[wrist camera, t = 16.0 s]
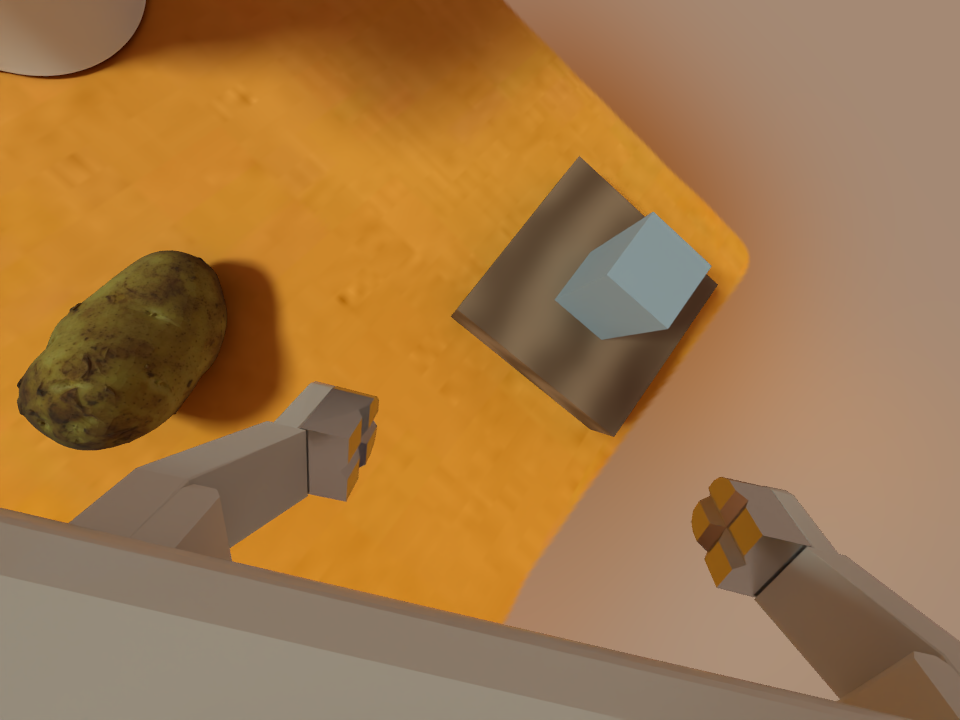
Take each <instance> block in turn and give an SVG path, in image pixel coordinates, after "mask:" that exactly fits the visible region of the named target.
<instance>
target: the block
mask: <svg viewBox="0 0 960 720" xmlns="http://www.w3.org/2000/svg"><path fill="white" fill-rule="evenodd" d="M710 268H711V265H710V264H709V263H708V262H707V261H706V260H705V259H703V258H702V257H701V256H700V255H699V254H698V253H697V252H696V251H695V250H694V249H693V248H692V247H691V246H690V245H688V244H687V243H686V242H685V241H684V240H683V239H682V238H681V237H680V236H679V235H678V234H677V233H676V232H675V231H674V230H672V229H671V228H670V227H669V226H668V225H667V224H666V223H665V222H664V221H663V220H662V219H661V218H660V217H659V216H657V215H656V214H655V213H654V212H652V213H651V214H649V215H647V216H646V217H644V218H643V219H641V220H640V221H638V222H637V223H635V224H633V225H632V226H630V227H629V228H627V229H626V230H624V231H623V232H621V233H619V234H618V235H616V236H615V237H613V238H612V239H610V240H609V241H607V242H605V243H604V244H602V245H601V246H599V247H598V248H596V249H595V250H593V251H591V252H590V253H589V255H588V256H587V257H586V259H585V260H584V261H583V263H582V264H581V265H580V267H579V268H578V269H577V271H576V272H575V273H574V275H573V276H572V277H571V279H570V280H569V281H568V283H567V284H566V285H565V287H564V288H563V289H562V291H561V292H560V293H559V294H558V296H557V297H556V298H555V301H556V302H558V303H559V304H560V305H561V306H562V307H564V308H565V309H566V310H567V311H568V312H569V313H571V314H572V315H573V316H574V317H575V318H576V319H578V320H579V321H580V322H581V323H582V324H583V325H585V326H586V327H587V328H588V329H589V330H590V331H592V332H593V333H594V334H595V335H596V336H598V337H599V338H600V339H601V340H603V339H610V338H616V337H622V336H628V335H634V334H640V333H646V332H653V331H659V330H665V329H668V328H669V327H670V325H671V324H672V323H673V321H674V320H675V318H676V317H677V315H678V314H679V312H680V311H681V310H682V308H683V307H684V305H685V304H686V302H687V301H688V299H689V298H690V297H691V295H692V294H693V292H694V291H695V289H696V288H697V286H698V285H699V284H700V282H701V281H702V279H703V278H704V276H705V275H706V273H707V272H708V271H709V269H710Z"/></svg>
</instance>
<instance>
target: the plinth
mask: <svg viewBox="0 0 960 720" xmlns="http://www.w3.org/2000/svg"><path fill="white" fill-rule="evenodd" d="M643 218H644V216H643V215H642V214H641V213H640V212H639V211H638V210H637V209H636V208H635V207H634V206H633V205H631V204H630V203H629V202H628V201H627V200H626V199H625V198H624V197H623V196H622V195H621V194H620V193H619V192H617V191H616V190H615V189H614V188H613V187H612V186H611V185H610V184H609V183H608V182H607V181H606V180H605V179H603V178H602V177H601V176H600V175H599V174H598V173H597V172H596V171H595V170H594V169H593V168H592V167H591V166H589V165H588V164H587V163H586V162H585V161H584V160H583V159H582V158H581V157H580V156H579V157H578V158H577V160H576V161H575V162H574V163H573V165H572V166H571V167H570V168H569V170H568V171H567V172H566V173H565V174H564V176H563V177H562V178H561V179H560V181H559V182H558V183H557V184H556V186H555V187H554V188H553V189H552V191H551V192H550V193H549V194H548V196H547V197H546V198H545V199H544V201H543V202H542V203H541V204H540V206H539V207H538V208H537V209H536V211H535V212H534V213H533V214H532V216H531V217H530V218H529V219H528V221H527V222H526V223H525V224H524V226H523V227H522V228H521V229H520V231H519V232H518V233H517V234H516V236H515V237H514V238H513V239H512V241H511V242H510V243H509V244H508V246H507V247H506V248H505V249H504V251H503V252H502V253H501V254H500V256H499V257H498V258H497V259H496V261H495V262H494V263H493V265H492V266H491V267H490V268H489V270H488V271H487V272H486V273H485V275H484V276H483V277H482V278H481V280H480V281H479V282H478V283H477V285H476V286H475V287H474V288H473V290H472V291H471V292H470V293H469V295H468V296H467V297H466V298H465V300H464V301H463V302H462V303H461V305H460V306H459V307H458V308H457V310H456V311H455V312H454V313H453V315H452V316H451V317H452V318H453V319H454V320H456V321H457V322H458V323H459V324H461V325H462V326H463V327H464V328H466V329H467V330H468V331H469V332H471V333H472V334H473V335H474V336H476V337H477V338H478V339H479V340H480V341H482V342H483V343H484V344H485V345H487V346H488V347H489V348H490V349H492V350H493V351H494V352H495V353H497V354H498V355H499V356H500V357H502V358H503V359H504V360H505V361H506V362H508V363H509V364H510V365H511V366H513V367H514V368H515V369H516V370H518V371H519V372H520V373H521V374H523V375H524V376H525V377H526V378H527V379H529V380H530V381H531V382H532V383H534V384H535V385H536V386H537V387H539V388H540V389H541V390H542V391H544V392H545V393H546V394H547V395H549V396H550V397H551V398H552V399H553V400H555V401H556V402H557V403H558V404H560V405H561V406H562V407H563V408H565V409H566V410H567V411H568V412H570V413H571V414H572V415H573V416H574V417H576V418H577V419H578V420H579V421H581V422H582V423H583V424H584V425H586V426H587V427H588V428H589V429H591V430H594V431H597V432H600V433H604V434H607V435H610V436H613V437H614V436H615V435H616V433H617V432H618V430H619V429H620V427H621V426H622V424H623V423H624V422H625V420H626V419H627V417H628V416H629V414H630V413H631V411H632V410H633V408H634V407H635V405H636V404H637V402H638V401H639V400H640V398H641V397H642V395H643V394H644V392H645V391H646V389H647V388H648V386H649V385H650V383H651V382H652V381H653V379H654V378H655V376H656V375H657V373H658V372H659V370H660V369H661V367H662V366H663V364H664V363H665V361H666V360H667V359H668V357H669V356H670V354H671V353H672V351H673V350H674V348H675V347H676V345H677V344H678V342H679V341H680V340H681V338H682V337H683V335H684V334H685V332H686V331H687V329H688V328H689V326H690V325H691V323H692V322H693V320H694V319H695V318H696V316H697V315H698V313H699V312H700V310H701V309H702V307H703V306H704V304H705V303H706V301H707V300H708V298H709V297H710V296H711V294H712V293H713V291H714V290H715V288H716V287H717V285H718V284H716V283H715V282H714V281H713V280H712V279H711V278H710V277H709V276H708V275H707V274H706V275H705V276H704V278H703V279H702V281H701V282H700V284H699V285H698V286H697V288H696V289H695V291H694V292H693V294H692V295H691V297H690V298H689V299H688V301H687V302H686V304H685V305H684V307H683V308H682V310H681V311H680V312H679V314H678V315H677V317H676V318H675V320H674V321H673V323H672V324H671V325H670V327H669V328H668V329H665V330H659V331H653V332H646V333H640V334H634V335H628V336H622V337H616V338H610V339H603V340H601V339H600V338H599V337H598V336H596V335H595V334H594V333H593V332H592V331H590V330H589V329H588V328H587V327H586V326H585V325H583V324H582V323H581V322H580V321H579V320H578V319H576V318H575V317H574V316H573V315H572V314H571V313H569V312H568V311H567V310H566V309H565V308H564V307H562V306H561V305H560V304H559V303H558V302H556V301H555V298H556V297H557V296H558V294H559V293H560V292H561V291H562V289H563V288H564V287H565V285H566V284H567V283H568V281H569V280H570V279H571V277H572V276H573V275H574V273H575V272H576V271H577V269H578V268H579V267H580V265H581V264H582V263H583V261H584V260H585V259H586V257H587V256H588V255H589V253H590V252H591V251H593V250H595V249H596V248H598V247H599V246H601V245H602V244H604V243H605V242H607V241H609V240H610V239H612V238H613V237H615V236H616V235H618V234H619V233H621V232H623V231H624V230H626V229H627V228H629V227H630V226H632V225H633V224H635V223H637V222H638V221H640V220H641V219H643Z"/></svg>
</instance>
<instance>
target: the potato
mask: <svg viewBox="0 0 960 720" xmlns="http://www.w3.org/2000/svg"><path fill="white" fill-rule="evenodd" d="M226 324H227V310H226V304H225V300H224V296H223V293H222V289H221V285H220V282H219V279H218V277H217V275H216V273H215V272H214V270H213V269H212V268H211V267H210V266H209V265H207V264H206V263H205V262H204V261H203V260H202V259H201V258H198V257H195V256H192V255H190V254H187V253H183V252H179V251H159V252H155V253H151V254H149V255H146V256H144V257H142V258H140V259H139V260H137V261H136V262H134V263H133V264H131V265H130V266H128V267H127V268H126V269H124V270H123V271H122V272H120V273H119V274H117V275H116V276H115V277H114V278H112V279H111V280H110V281H109V282H107V283H106V284H105V285H104V286H102V287H101V288H100V289H99V290H98V291H96V292H95V293H94V294H93V295H91V296H90V297H89V298H87V299H86V300H85V301H84V302H82V303H78V304H77V305H76V306H75V307H73V308H71V309H70V312H69V313H68V315H67V316H65V317H64V318H63V319H62V320H61V321H60V322H59V323H58V324H57V326H56V327H55V329H54V331H53V333H52V335H51V337H50V340H49V342H48V345H47V348H46V349H45V350H44V351H43V352H42V353H41V354H40V355H39V356H38V357H37V358H36V359H35V360H34V362H33V363H32V364H31V365H30V367H29V368H28V370H27V371H26V373H25V374H24V376H23V377H22V378H21V379H20V381H19V382H18V384H17V386H18V388H19V398H18V400H17V403H18V408H19V411H20V414H22V415H23V416H25V417H26V419H27V420H28V421H29V422H30V423H31V424H32V425H33V426H34V427H35V428H36V429H37V430H39V431H40V432H41V433H43V434H44V435H46V436H47V437H49V438H51V439H52V440H54V441H55V442H57V443H59V444H61V445H63V446H66V447H69V448H73V449H77V450H101V449H106V448H111V447H115V446H119V445H122V444H125V443H130V442H131V441H133V440H135V439H137V438H139V437H141V436H143V435H145V434H147V433H149V432H151V431H152V430H154V429H156V428H157V427H159V426H160V425H161V424H162V423H164V422H165V421H166V420H167V419H169V418H170V417H171V416H172V415H173V414H176V412H177V411H178V409H179V408H180V407H181V405H182V403H183V402H184V401H185V400H186V399H187V397H188V396H189V395H190V393H191V392H192V390H193V389H194V387H195V386H196V384H197V382H198V381H199V379H200V377H201V376H202V375H203V373H205V372H206V371H207V370H208V369H209V367H210V366H211V365H212V364H213V362H214V361H215V359H216V357H217V355H218V353H219V350H220V347H221V344H222V341H223V338H224V335H225V330H226Z"/></svg>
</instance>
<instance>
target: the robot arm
mask: <svg viewBox="0 0 960 720" xmlns="http://www.w3.org/2000/svg"><path fill="white" fill-rule="evenodd" d="M145 3H146V0H0V71H5V72H11V73H17V74H23V75H33V76H53V75H62V74H69V73H74V72H77V71H81V70H84V69H87V68H90V67H92V66H95V65H97V64H99V63H101V62H103V61H104V60H106V59H108V58H109V57H111V56H112V55H114V54H115V53H116V52H117V51H119V50H120V49H121V48H122V47H123V46H124V45H125V44H126V43H127V42H128V40H129V39H130V38H131V37H132V35H133V34H134V32H135V31H136V29H137V27H138V25H139V23H140V21H141V18H142V16H143V12H144V9H145ZM378 406H379V399H378V397H377V396H373V395H369V394H365V393H361V392H357V391H353V390H350V389H346V388H342V387H338V386H333V385H329V384H325V383H321V382H317V381H315V382H312V383H310V384H309V385H308V386H307V387H306V388H305V390H304V391H303V392H302V393H301V394H300V395H299V396H298V397H297V398H296V399H295V400H294V401H293V402H292V403H291V405H290V406H289V407H288V408H287V409H286V410H285V411H284V412H283V413H282V414H281V415H280V416H279V417H278V418H277V420H276V421H275V422H274V423H273V422H269V421H266V422H263V423H260V424H258V425H255V426H252V427H249V428H247V429H244V430H241V431H238V432H235V433H233V434H230V435H227V436H224V437H221V438H219V439H216V440H213V441H210V442H208V443H205V444H202V445H199V446H196V447H194V448H191V449H188V450H185V451H183V452H180V453H177V454H174V455H171V456H169V457H166V458H163V459H160V460H157V461H155V462H152V463H149V464H146V465H144V466H141V467H138V468H136V469H135V470H133V471H132V472H131V473H130V474H128V475H127V476H126V477H125V478H124V479H122V480H121V481H120V482H119V483H117V484H116V485H115V486H114V487H112V488H111V489H110V490H109V491H108V492H106V493H105V494H104V495H103V496H101V497H100V498H99V499H98V500H96V501H95V502H94V503H93V504H92V505H90V506H89V507H88V508H87V509H85V510H84V511H83V512H82V513H81V514H79V515H78V516H77V517H76V518H74V519H73V520H72V521H71V522H69V523H64V522H60V521H56V520H51V519H47V518H43V517H38V516H34V515H30V514H25V513H21V512H17V511H12V510H8V509H4V508H0V720H960V641H959V640H957V639H956V638H955V637H953V636H952V635H951V634H949V633H948V632H947V631H945V630H944V629H943V628H941V627H940V626H939V625H937V624H936V623H935V622H933V621H932V620H931V619H929V618H928V617H927V616H925V615H924V614H923V613H921V612H920V611H919V610H917V609H916V608H915V607H913V606H912V605H911V604H909V603H908V602H907V601H905V600H904V599H903V598H901V597H900V596H899V595H897V594H896V593H895V592H893V591H892V590H891V589H889V588H888V587H887V586H885V585H884V584H883V583H881V582H880V581H879V580H877V579H876V578H875V577H874V576H872V575H871V574H870V573H868V572H867V571H865V570H864V569H863V568H862V567H860V566H859V565H858V564H856V563H855V562H853V561H852V560H851V559H850V558H848V557H847V556H845V555H841V554H838V553H837V551H836V550H835V549H834V547H833V546H832V545H831V543H830V542H829V541H828V539H827V538H826V537H825V536H824V534H823V533H822V532H821V530H820V529H819V528H818V526H817V525H816V524H815V523H814V521H813V520H812V519H811V517H810V516H809V515H808V513H807V512H806V511H805V509H804V508H803V507H802V505H801V504H800V503H799V502H798V500H797V499H796V498H795V496H794V495H792V494H791V493H789V492H788V491H786V490H781V489H776V488H771V487H767V486H759V485H755V484H750V483H746V482H741V481H737V480H733V479H728V478H724V477H719V478H718V479H716V480H714V481H713V483H712V484H711V486H710V487H709V492H710V496H709V497H707V498H704V499H702V500H700V501H699V502H698V504H697V505H696V507H695V509H694V510H693V516H692V528H693V533H694V535H695V538H696V540H697V542H698V543H699V544H700V545H701V546H702V547H703V548H704V549H705V550H706V551H707V553H706V556H705V562H706V564H707V566H708V569H709V571H710V573H711V575H712V578H713V580H714V582H715V585H716V587H717V588H721V589H724V590H728V591H732V592H736V593H739V594H743V595H747V596H751V597H755V601H756V602H757V603H758V604H759V605H760V606H761V608H762V609H763V610H764V611H765V612H766V613H767V615H768V616H769V617H770V618H771V619H772V620H773V622H774V623H775V624H776V625H777V626H778V627H779V629H780V630H781V631H782V632H783V633H784V634H785V636H786V637H787V638H788V639H789V640H790V641H791V643H792V644H793V645H794V646H795V647H796V648H797V650H798V651H799V652H800V653H801V654H802V655H803V656H804V658H805V659H806V660H807V661H808V662H809V664H810V665H811V666H812V667H813V668H814V669H815V671H817V673H818V674H819V675H820V676H821V678H822V679H823V680H824V681H825V682H826V683H827V685H828V686H829V687H830V688H831V689H832V690H833V692H835V694H836V695H837V696H838V697H839V698H840V700H838V701H832V700H828V699H823V698H819V697H815V696H811V695H806V694H802V693H797V692H793V691H789V690H785V689H780V688H776V687H771V686H767V685H762V684H758V683H754V682H750V681H745V680H741V679H737V678H732V677H728V676H724V675H719V674H715V673H711V672H706V671H702V670H698V669H693V668H689V667H684V666H680V665H676V664H672V663H667V662H663V661H659V660H654V659H650V658H646V657H641V656H637V655H632V654H628V653H624V652H619V651H615V650H611V649H607V648H603V647H598V646H594V645H590V644H585V643H581V642H577V641H572V640H568V639H564V638H559V637H555V636H551V635H547V634H542V633H538V632H534V631H529V630H525V629H521V628H516V627H512V626H508V625H504V624H499V623H495V622H491V621H487V620H482V619H478V618H474V617H469V616H465V615H461V614H456V613H452V612H448V611H443V610H439V609H435V608H431V607H426V606H422V605H418V604H413V603H409V602H405V601H400V600H396V599H392V598H387V597H383V596H379V595H374V594H370V593H366V592H362V591H357V590H353V589H349V588H344V587H340V586H336V585H331V584H327V583H323V582H318V581H314V580H310V579H305V578H301V577H297V576H293V575H288V574H284V573H280V572H275V571H271V570H267V569H262V568H258V567H254V566H249V565H245V564H241V563H236V562H232V559H231V554H230V549H229V548H231V547H232V546H234V545H235V544H237V543H238V542H240V541H241V540H243V539H244V538H246V537H247V536H248V535H250V534H251V533H253V532H254V531H256V530H257V529H259V528H260V527H262V526H263V525H265V524H266V523H268V522H269V521H271V520H272V519H274V518H275V517H277V516H278V515H280V514H281V513H283V512H284V511H286V510H287V509H289V508H290V507H292V506H293V505H295V504H296V503H298V502H299V501H301V500H302V499H304V498H305V497H307V496H308V494H312V495H317V496H321V497H326V498H331V499H336V500H341V501H347V499H348V497H349V495H350V493H351V491H352V490H353V488H354V486H355V484H356V482H357V480H358V474H359V468H360V467H361V466H363V465H365V464H366V462H367V460H368V458H369V456H370V454H371V451H372V448H373V445H374V442H375V437H376V430H377V425H376V424H375V422H374V421H373V420H374V418H375V416H376V414H377V412H378Z"/></svg>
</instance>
